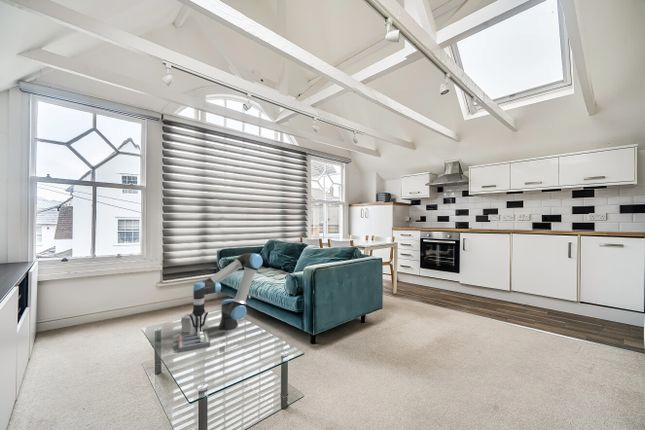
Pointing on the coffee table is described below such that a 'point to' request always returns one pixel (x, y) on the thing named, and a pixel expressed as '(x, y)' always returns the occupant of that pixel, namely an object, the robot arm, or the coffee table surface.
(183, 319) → the circuit breaker
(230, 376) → the coffee table surface
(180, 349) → the breaker board
